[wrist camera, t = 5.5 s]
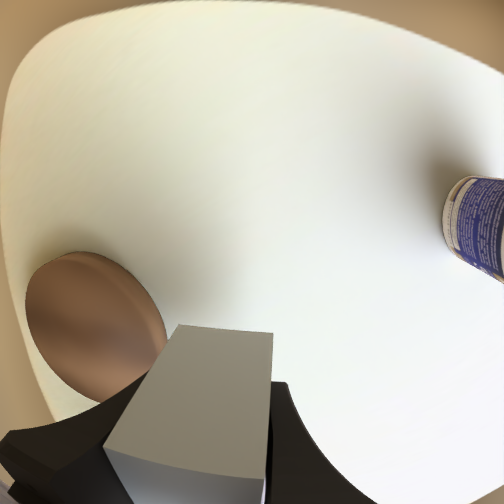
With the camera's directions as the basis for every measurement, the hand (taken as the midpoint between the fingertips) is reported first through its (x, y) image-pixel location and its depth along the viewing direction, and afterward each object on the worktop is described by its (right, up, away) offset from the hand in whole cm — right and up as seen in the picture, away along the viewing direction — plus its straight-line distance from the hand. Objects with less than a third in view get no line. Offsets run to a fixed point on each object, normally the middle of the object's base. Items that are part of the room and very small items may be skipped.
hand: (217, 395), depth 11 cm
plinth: (-9, 0, +8) cm, 12 cm away
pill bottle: (+15, +8, +4) cm, 17 cm away
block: (0, +1, +2) cm, 2 cm away
